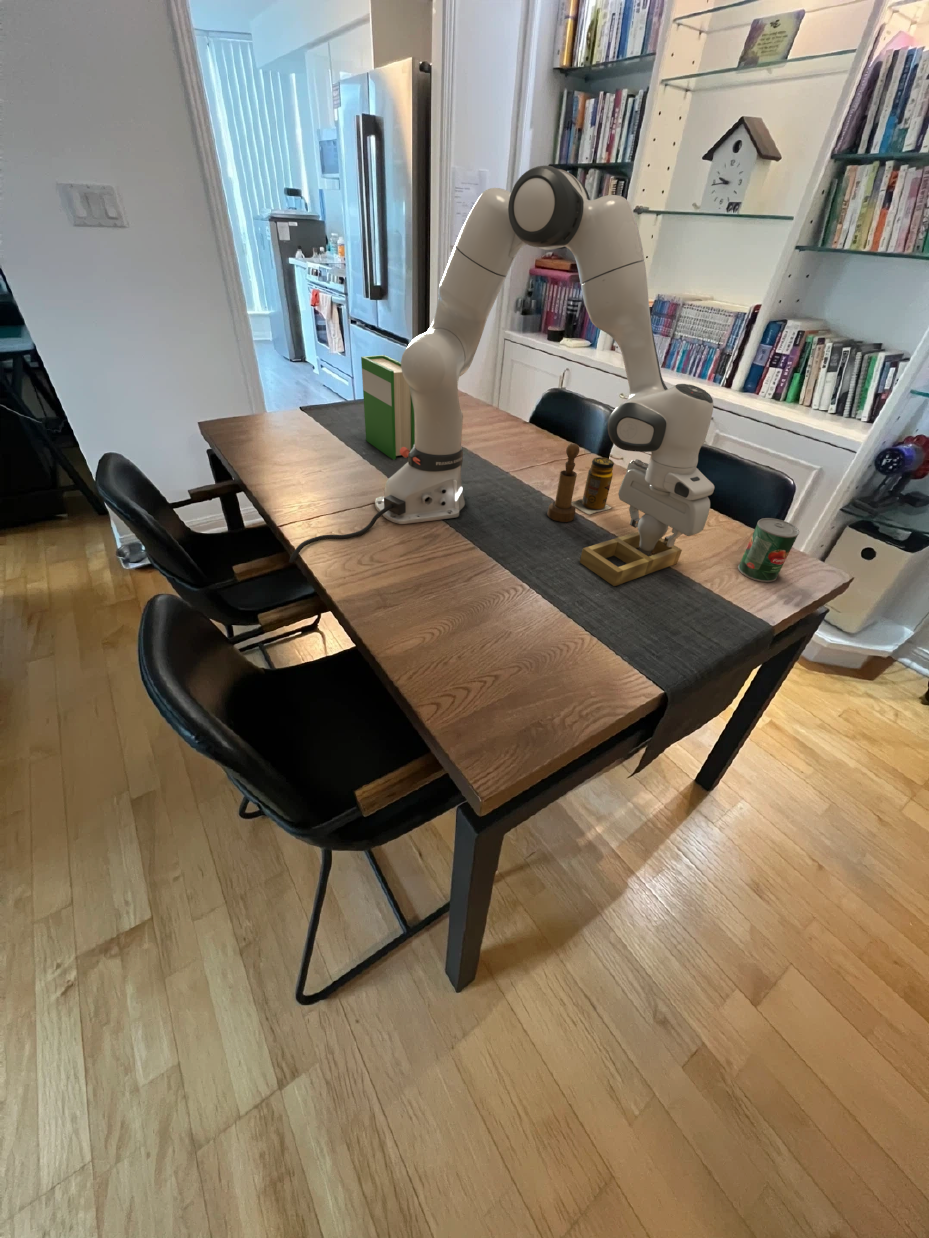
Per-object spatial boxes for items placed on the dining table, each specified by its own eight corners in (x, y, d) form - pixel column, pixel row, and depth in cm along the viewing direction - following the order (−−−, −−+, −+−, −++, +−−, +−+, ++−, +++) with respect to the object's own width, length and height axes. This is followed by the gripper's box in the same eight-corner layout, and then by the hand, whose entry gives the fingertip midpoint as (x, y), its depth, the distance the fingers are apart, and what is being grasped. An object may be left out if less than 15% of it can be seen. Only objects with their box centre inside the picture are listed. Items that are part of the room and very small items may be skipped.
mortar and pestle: (576, 513, 132) (590, 442, 121) (571, 524, 127) (586, 451, 116) (550, 508, 134) (562, 437, 123) (544, 519, 129) (556, 446, 118)
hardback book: (415, 455, 157) (414, 368, 142) (393, 459, 153) (390, 371, 139) (387, 437, 168) (384, 354, 153) (366, 440, 165) (361, 356, 150)
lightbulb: (627, 561, 115) (640, 515, 108) (631, 548, 120) (643, 503, 113) (655, 568, 114) (670, 522, 107) (658, 554, 118) (673, 510, 111)
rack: (614, 586, 107) (618, 572, 105) (579, 562, 114) (582, 548, 111) (677, 563, 116) (682, 549, 113) (641, 542, 122) (645, 528, 120)
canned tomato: (774, 586, 110) (797, 540, 104) (735, 574, 113) (755, 528, 107) (778, 570, 116) (801, 525, 109) (741, 558, 119) (760, 514, 112)
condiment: (612, 508, 136) (623, 463, 129) (588, 515, 132) (598, 469, 125) (592, 497, 141) (601, 453, 133) (568, 503, 137) (577, 458, 129)
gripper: (620, 458, 110) (606, 518, 119) (701, 496, 97) (678, 560, 105) (641, 454, 113) (625, 512, 121) (722, 490, 100) (698, 553, 108)
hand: (650, 535), depth 113 cm, fingers open, 8 cm apart
